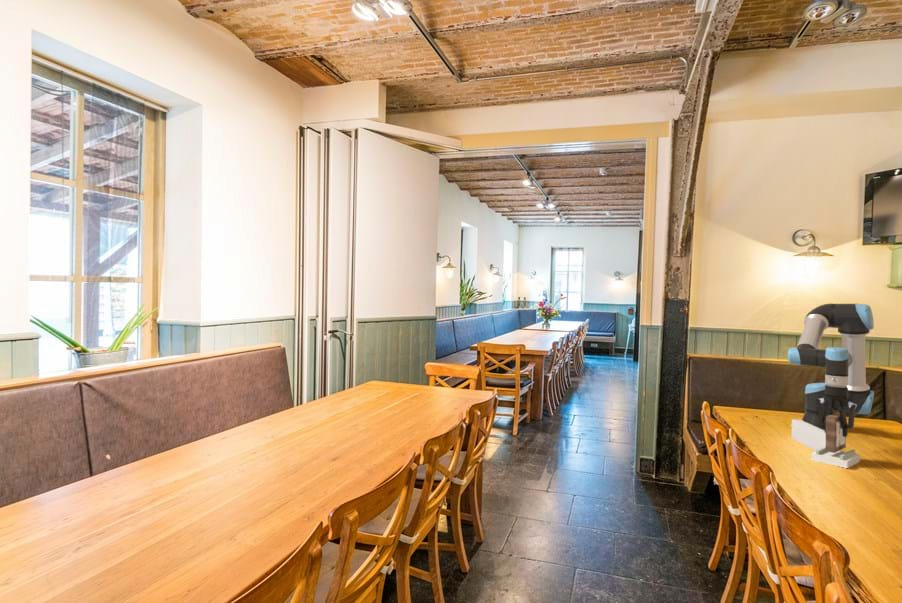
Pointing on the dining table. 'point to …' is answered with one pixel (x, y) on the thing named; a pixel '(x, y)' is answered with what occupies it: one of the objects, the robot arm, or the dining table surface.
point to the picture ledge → (836, 457)
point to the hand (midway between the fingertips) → (835, 442)
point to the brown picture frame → (833, 433)
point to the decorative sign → (808, 434)
